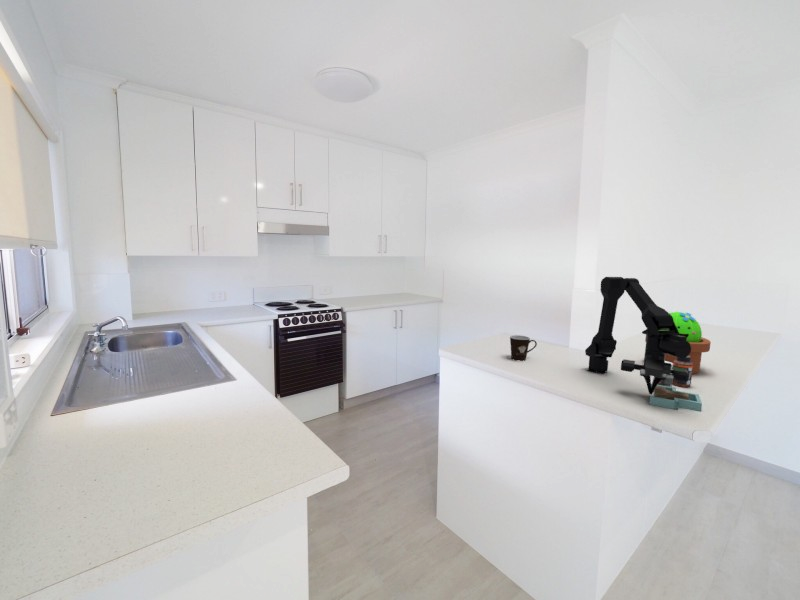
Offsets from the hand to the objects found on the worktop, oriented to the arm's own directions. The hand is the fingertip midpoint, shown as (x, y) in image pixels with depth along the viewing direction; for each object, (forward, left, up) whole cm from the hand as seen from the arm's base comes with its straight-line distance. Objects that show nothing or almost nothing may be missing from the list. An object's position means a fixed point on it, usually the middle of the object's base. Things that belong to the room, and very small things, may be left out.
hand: (650, 393), depth 127 cm
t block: (+6, 0, -1) cm, 6 cm away
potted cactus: (+9, +45, -1) cm, 46 cm away
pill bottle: (+4, +12, -1) cm, 13 cm away
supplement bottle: (+10, +21, -1) cm, 23 cm away
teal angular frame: (+7, 0, -1) cm, 7 cm away
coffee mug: (-49, +19, -1) cm, 52 cm away
